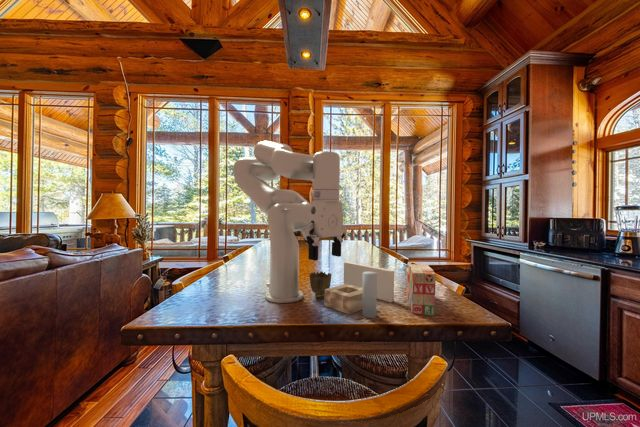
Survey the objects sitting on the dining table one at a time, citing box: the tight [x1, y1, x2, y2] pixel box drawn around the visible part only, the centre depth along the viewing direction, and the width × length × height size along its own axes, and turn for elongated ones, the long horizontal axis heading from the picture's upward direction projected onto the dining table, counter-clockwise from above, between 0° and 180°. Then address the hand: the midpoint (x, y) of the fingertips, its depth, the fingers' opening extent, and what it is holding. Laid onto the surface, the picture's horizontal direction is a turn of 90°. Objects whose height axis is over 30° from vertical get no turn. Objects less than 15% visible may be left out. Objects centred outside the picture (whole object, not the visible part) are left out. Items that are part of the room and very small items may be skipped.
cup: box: [308, 270, 332, 299], centre depth 97 cm, size 8×7×8 cm
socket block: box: [323, 283, 362, 315], centre depth 88 cm, size 10×10×5 cm
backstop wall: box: [343, 261, 395, 303], centre depth 100 cm, size 20×2×10 cm, turn 44°
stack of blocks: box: [405, 263, 437, 317], centre depth 92 cm, size 21×6×12 cm, turn 169°
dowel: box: [361, 271, 378, 319], centre depth 81 cm, size 4×4×12 cm
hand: (325, 257), depth 81 cm, fingers open, 8 cm apart
